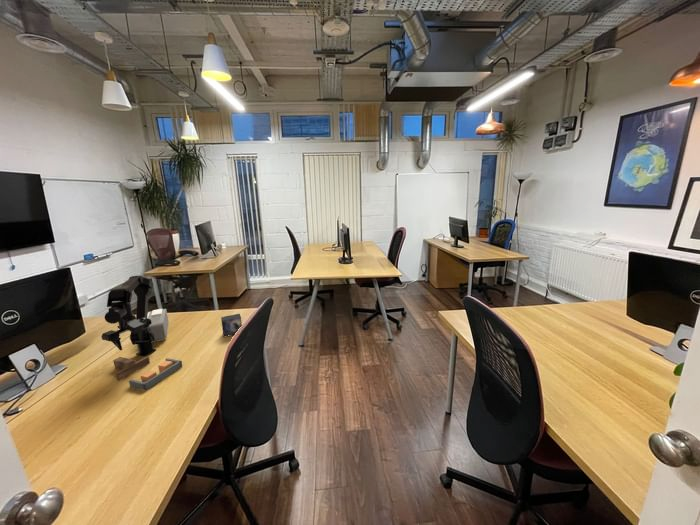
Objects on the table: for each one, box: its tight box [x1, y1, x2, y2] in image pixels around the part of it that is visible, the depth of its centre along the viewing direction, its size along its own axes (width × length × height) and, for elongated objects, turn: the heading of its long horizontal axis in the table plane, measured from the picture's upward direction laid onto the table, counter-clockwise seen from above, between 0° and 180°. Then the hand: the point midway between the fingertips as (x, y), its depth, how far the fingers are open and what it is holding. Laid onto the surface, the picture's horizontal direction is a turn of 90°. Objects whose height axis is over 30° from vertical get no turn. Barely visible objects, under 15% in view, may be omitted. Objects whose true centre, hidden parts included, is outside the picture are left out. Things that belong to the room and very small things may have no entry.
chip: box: [140, 370, 158, 382], centre depth 123 cm, size 4×4×4 cm
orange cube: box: [157, 360, 173, 373], centre depth 131 cm, size 4×4×4 cm
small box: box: [220, 313, 243, 337], centre depth 166 cm, size 11×6×10 cm, turn 117°
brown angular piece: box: [112, 355, 151, 381], centre depth 133 cm, size 11×14×5 cm
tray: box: [128, 357, 183, 391], centre depth 127 cm, size 9×18×3 cm, turn 162°
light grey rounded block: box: [147, 308, 169, 343], centre depth 168 cm, size 27×9×12 cm, turn 30°
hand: (131, 345), depth 134 cm, fingers open, 9 cm apart
